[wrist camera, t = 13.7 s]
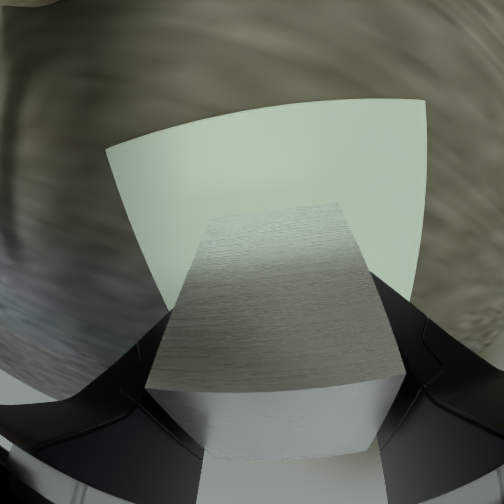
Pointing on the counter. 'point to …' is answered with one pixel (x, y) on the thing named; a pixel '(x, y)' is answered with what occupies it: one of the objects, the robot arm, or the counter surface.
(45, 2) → the base
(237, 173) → the mat
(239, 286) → the grey rectangular block
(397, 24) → the counter surface
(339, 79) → the counter surface
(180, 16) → the counter surface
